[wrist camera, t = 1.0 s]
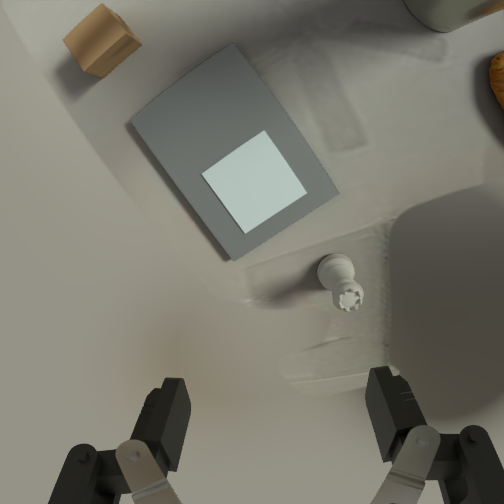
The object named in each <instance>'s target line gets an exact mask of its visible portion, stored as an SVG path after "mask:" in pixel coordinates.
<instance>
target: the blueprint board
mask: <svg viewBox="0 0 504 504" xmlns="http://www.w3.org/2000/svg"><path fill="white" fill-rule="evenodd" d="M130 122H131V123H132V125H133V126H134V127H135V129H136V130H137V132H138V133H139V134H140V136H141V137H142V138H143V140H144V141H145V143H146V144H147V145H148V147H149V148H150V150H151V151H152V152H153V154H154V155H155V156H156V158H157V159H158V161H159V162H160V163H161V165H162V166H163V167H164V169H165V170H166V171H167V173H168V174H169V176H170V177H171V178H172V180H173V181H174V182H175V184H176V185H177V186H178V188H179V189H180V191H181V192H182V193H183V195H184V196H185V197H186V199H187V200H188V201H189V203H190V204H191V205H192V207H193V208H194V209H195V211H196V212H197V213H198V215H199V216H200V217H201V219H202V220H203V222H204V223H205V224H206V226H207V227H208V228H209V230H210V231H211V232H212V234H213V235H214V236H215V238H216V239H217V240H218V242H219V243H220V244H221V245H222V247H223V248H224V249H225V251H226V252H227V253H228V255H229V256H230V257H231V259H232V260H233V261H236V260H237V259H239V258H240V257H242V256H243V255H245V254H247V253H248V252H250V251H251V250H253V249H254V248H256V247H257V246H259V245H260V244H262V243H264V242H265V241H267V240H268V239H270V238H271V237H273V236H274V235H276V234H277V233H279V232H281V231H282V230H284V229H285V228H287V227H288V226H290V225H291V224H293V223H295V222H296V221H298V220H299V219H301V218H302V217H304V216H305V215H307V214H308V213H310V212H312V211H313V210H315V209H316V208H318V207H319V206H321V205H322V204H324V203H326V202H327V201H329V200H330V199H332V198H333V197H335V196H336V195H338V194H340V193H339V191H338V190H337V188H336V186H335V185H334V183H333V182H332V180H331V178H330V177H329V175H328V174H327V172H326V170H325V169H324V167H323V166H322V164H321V163H320V161H319V159H318V158H317V156H316V155H315V153H314V152H313V150H312V149H311V147H310V146H309V144H308V143H307V141H306V140H305V138H304V137H303V135H302V134H301V132H300V131H299V130H298V128H297V127H296V125H295V124H294V122H293V121H292V119H291V118H290V117H289V115H288V114H287V112H286V111H285V110H284V108H283V107H282V105H281V104H280V103H279V101H278V100H277V99H276V97H275V96H274V94H273V93H272V92H271V90H270V89H269V88H268V86H267V85H266V84H265V82H264V81H263V80H262V79H261V77H260V76H259V75H258V73H257V72H256V71H255V69H254V68H253V67H252V66H251V64H250V63H249V62H248V61H247V59H246V58H245V57H244V56H243V54H242V53H241V52H240V51H239V50H238V48H237V47H236V46H235V45H234V43H232V44H230V45H229V46H227V47H226V48H224V49H222V50H221V51H219V52H218V53H216V54H215V55H213V56H212V57H210V58H209V59H207V60H206V61H205V62H203V63H202V64H200V65H199V66H197V67H196V68H195V69H193V70H192V71H190V72H189V73H188V74H186V75H185V76H183V77H182V78H181V79H179V80H178V81H177V82H175V83H174V84H173V85H172V86H170V87H169V88H168V89H166V90H165V91H164V92H163V93H161V94H160V95H159V96H158V97H156V98H155V99H154V100H153V101H151V102H150V103H149V104H148V105H147V106H145V107H144V108H143V109H142V110H141V111H140V112H138V113H137V114H136V115H135V116H134V117H133V118H131V119H130Z"/></svg>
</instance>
